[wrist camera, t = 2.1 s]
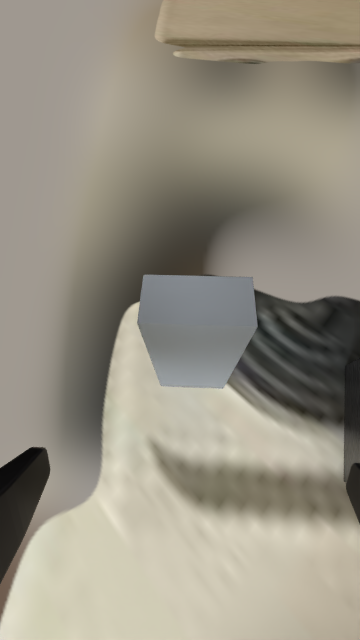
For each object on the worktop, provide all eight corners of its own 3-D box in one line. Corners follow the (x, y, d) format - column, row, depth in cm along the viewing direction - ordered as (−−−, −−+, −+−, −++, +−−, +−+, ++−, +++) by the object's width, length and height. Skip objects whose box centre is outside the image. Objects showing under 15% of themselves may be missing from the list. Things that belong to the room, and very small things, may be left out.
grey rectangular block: (223, 388, 21) (257, 326, 11) (161, 385, 21) (137, 323, 11) (222, 357, 22) (252, 274, 12) (163, 355, 22) (143, 272, 12)
